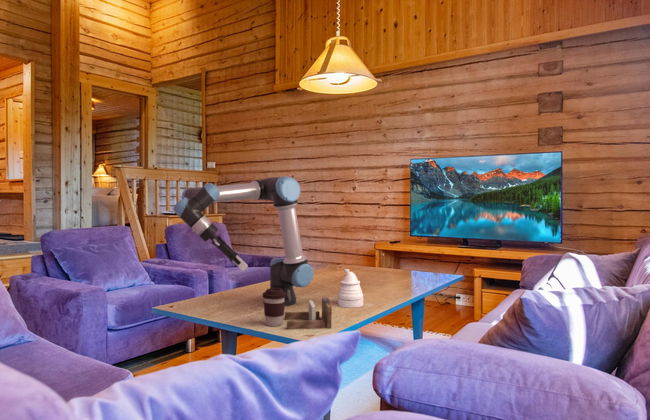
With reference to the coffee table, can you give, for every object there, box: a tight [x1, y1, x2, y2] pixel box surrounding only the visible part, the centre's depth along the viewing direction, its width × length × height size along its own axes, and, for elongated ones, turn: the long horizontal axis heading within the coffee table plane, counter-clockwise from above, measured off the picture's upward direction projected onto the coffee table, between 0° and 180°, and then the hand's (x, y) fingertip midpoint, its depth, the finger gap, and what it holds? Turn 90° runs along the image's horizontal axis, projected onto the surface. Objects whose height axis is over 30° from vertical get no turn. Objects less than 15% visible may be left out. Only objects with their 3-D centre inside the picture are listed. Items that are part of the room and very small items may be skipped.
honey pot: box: [337, 268, 364, 308], centre depth 234 cm, size 13×13×18 cm
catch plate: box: [308, 299, 317, 320], centre depth 200 cm, size 2×12×8 cm, turn 8°
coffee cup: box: [262, 287, 286, 327], centre depth 197 cm, size 10×10×15 cm
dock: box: [284, 297, 333, 330], centre depth 199 cm, size 19×17×10 cm
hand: (245, 268), depth 195 cm, fingers open, 3 cm apart
